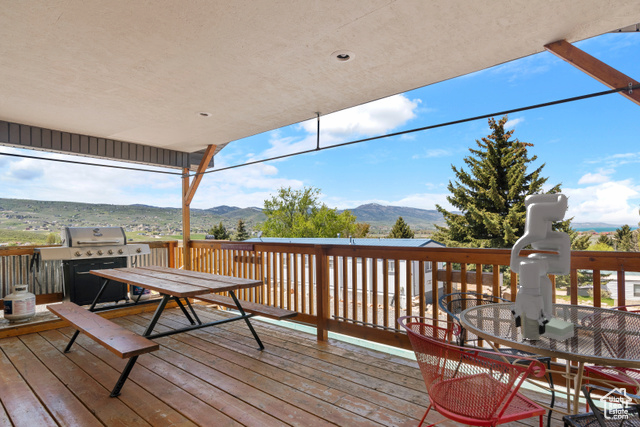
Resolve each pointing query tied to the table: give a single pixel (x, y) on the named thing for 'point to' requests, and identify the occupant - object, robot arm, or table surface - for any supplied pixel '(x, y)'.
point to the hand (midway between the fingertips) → (529, 330)
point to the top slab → (559, 327)
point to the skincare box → (529, 328)
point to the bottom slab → (557, 337)
